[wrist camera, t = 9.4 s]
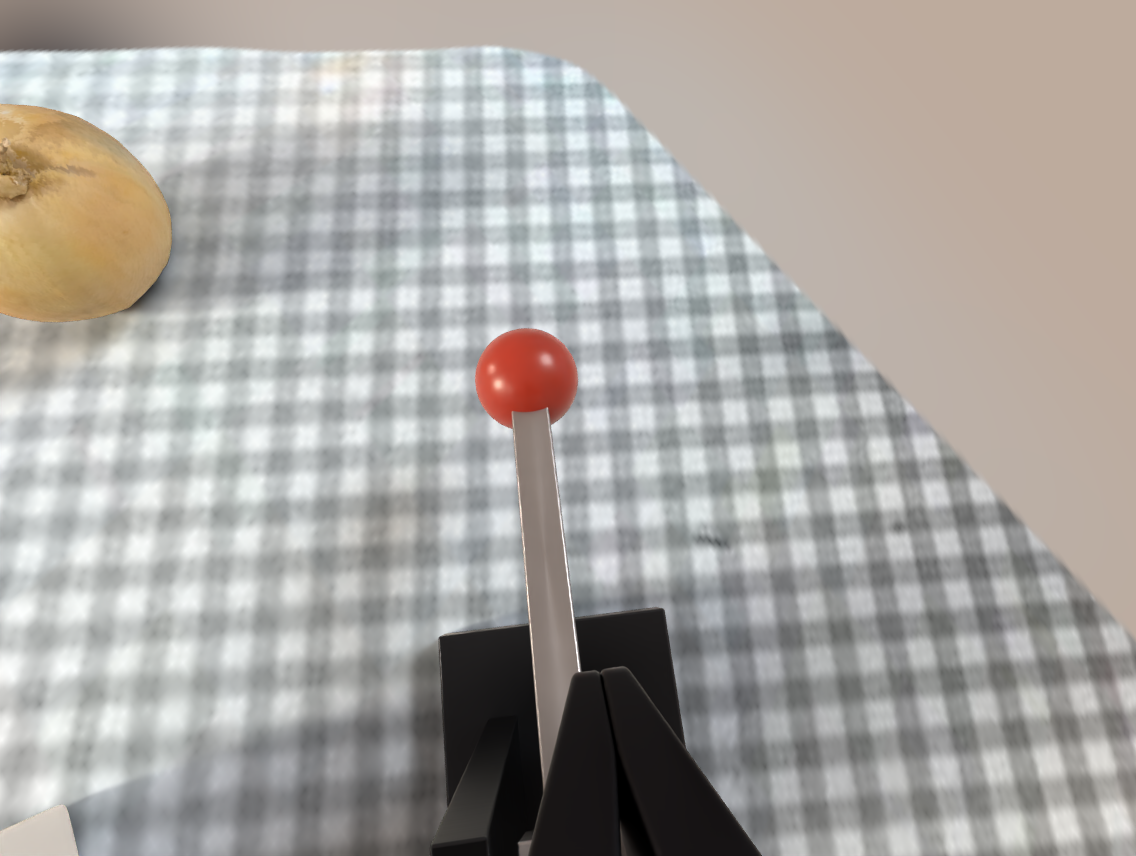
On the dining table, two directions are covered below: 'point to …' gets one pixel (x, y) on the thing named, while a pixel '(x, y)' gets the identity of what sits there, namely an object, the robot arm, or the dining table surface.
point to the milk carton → (40, 835)
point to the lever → (538, 510)
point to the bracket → (524, 720)
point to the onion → (74, 219)
